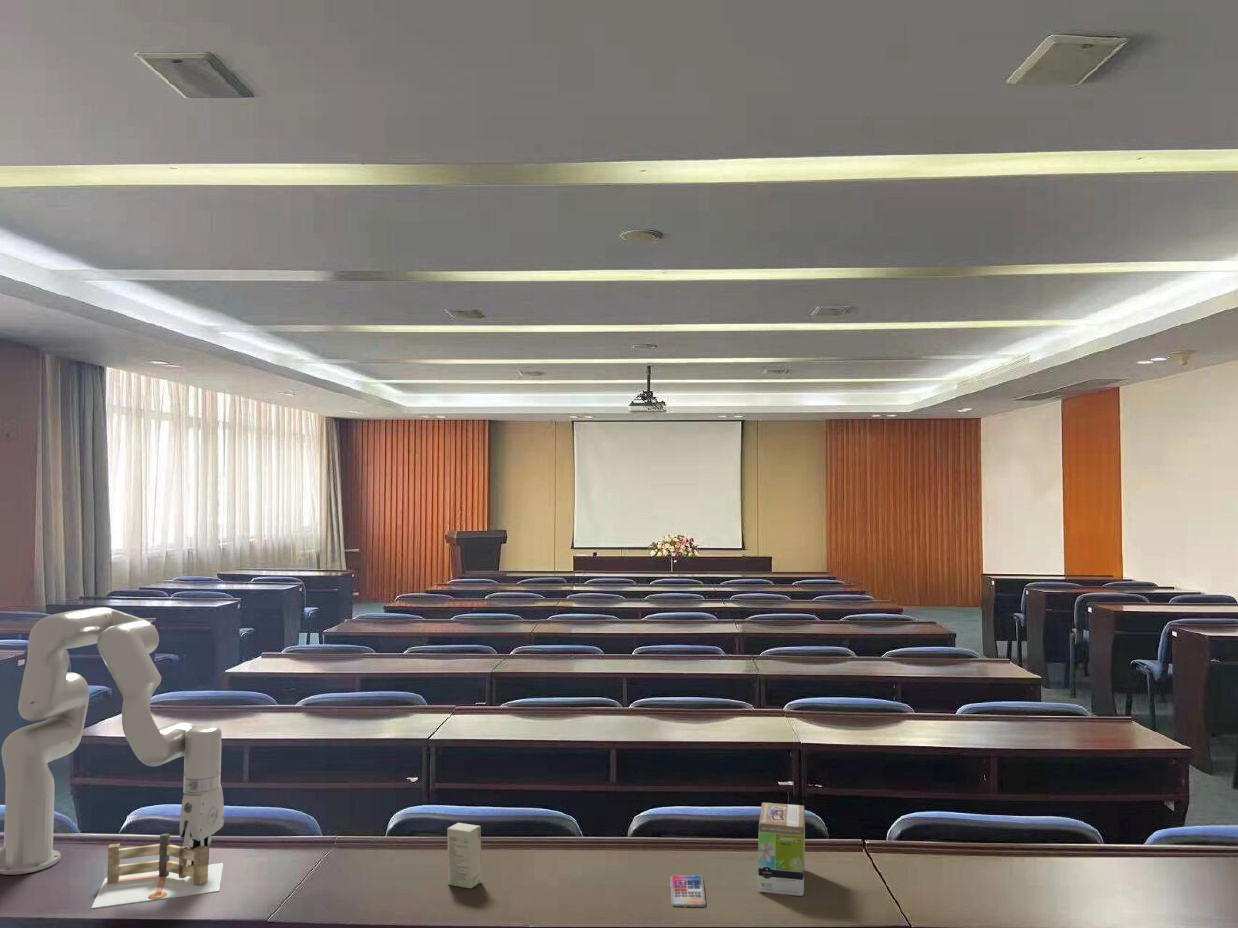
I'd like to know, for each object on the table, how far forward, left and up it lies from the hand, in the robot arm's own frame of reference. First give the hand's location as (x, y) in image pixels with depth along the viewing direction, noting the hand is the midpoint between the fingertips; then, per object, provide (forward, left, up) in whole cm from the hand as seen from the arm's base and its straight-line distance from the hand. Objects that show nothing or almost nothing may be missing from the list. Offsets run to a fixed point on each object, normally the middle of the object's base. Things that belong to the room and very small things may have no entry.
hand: (199, 866), depth 202 cm
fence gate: (-3, -2, -2) cm, 4 cm away
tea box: (+121, -48, -2) cm, 130 cm away
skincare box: (+55, -25, -2) cm, 60 cm away
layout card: (-7, -3, -2) cm, 8 cm away
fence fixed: (-12, +2, -2) cm, 13 cm away
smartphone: (+99, -46, -3) cm, 109 cm away
